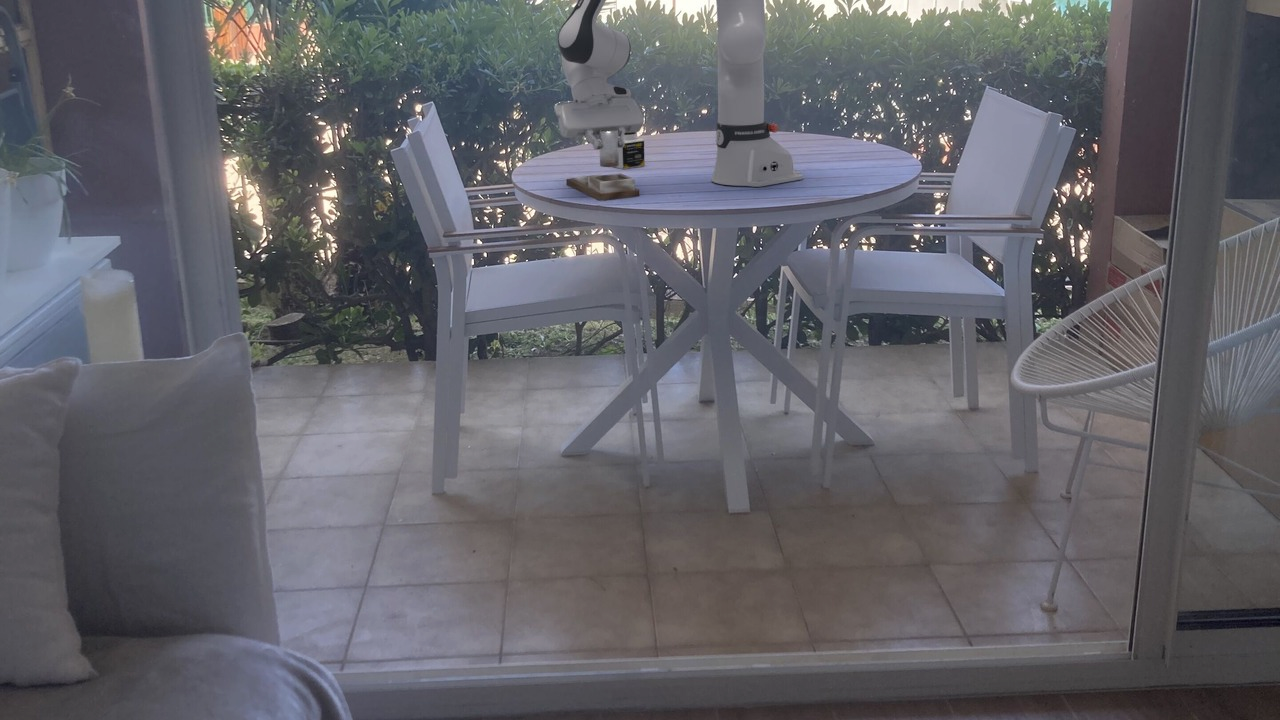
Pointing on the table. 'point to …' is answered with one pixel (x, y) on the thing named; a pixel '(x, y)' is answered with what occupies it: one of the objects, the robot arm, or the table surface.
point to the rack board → (605, 186)
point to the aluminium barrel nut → (609, 148)
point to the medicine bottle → (631, 152)
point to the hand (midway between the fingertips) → (610, 147)
